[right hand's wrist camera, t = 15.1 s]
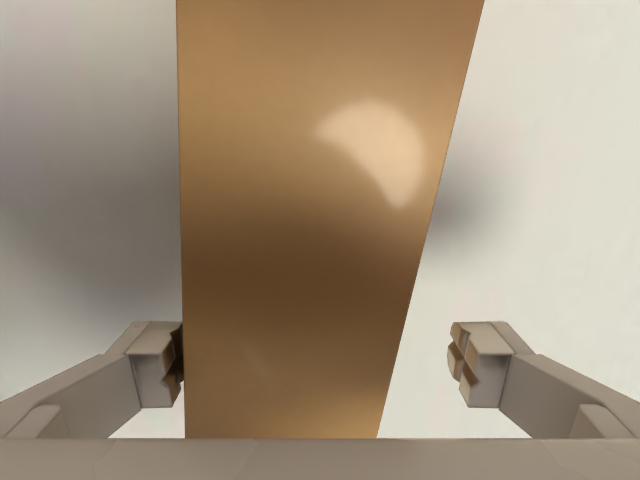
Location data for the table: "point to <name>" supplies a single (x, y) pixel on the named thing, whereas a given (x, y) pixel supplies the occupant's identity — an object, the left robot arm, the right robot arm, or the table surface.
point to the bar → (307, 201)
